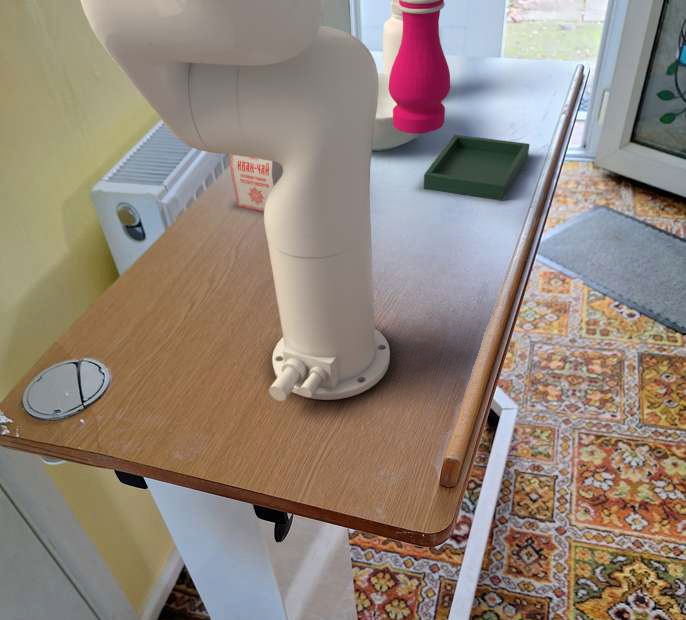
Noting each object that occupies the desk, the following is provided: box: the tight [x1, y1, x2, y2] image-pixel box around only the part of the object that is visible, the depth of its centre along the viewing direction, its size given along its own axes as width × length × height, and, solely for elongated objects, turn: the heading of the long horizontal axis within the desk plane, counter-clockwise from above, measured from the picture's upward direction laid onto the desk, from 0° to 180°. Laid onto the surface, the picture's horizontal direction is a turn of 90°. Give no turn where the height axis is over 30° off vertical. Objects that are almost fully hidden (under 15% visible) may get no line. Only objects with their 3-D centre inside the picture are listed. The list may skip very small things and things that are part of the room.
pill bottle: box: [382, 0, 403, 74], centre depth 113 cm, size 8×8×15 cm
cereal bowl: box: [372, 73, 421, 152], centre depth 105 cm, size 17×17×7 cm
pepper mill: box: [389, 0, 451, 135], centre depth 74 cm, size 7×7×20 cm
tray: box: [423, 134, 531, 201], centre depth 98 cm, size 14×12×2 cm
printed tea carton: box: [229, 155, 283, 212], centre depth 93 cm, size 4×7×10 cm, turn 63°
